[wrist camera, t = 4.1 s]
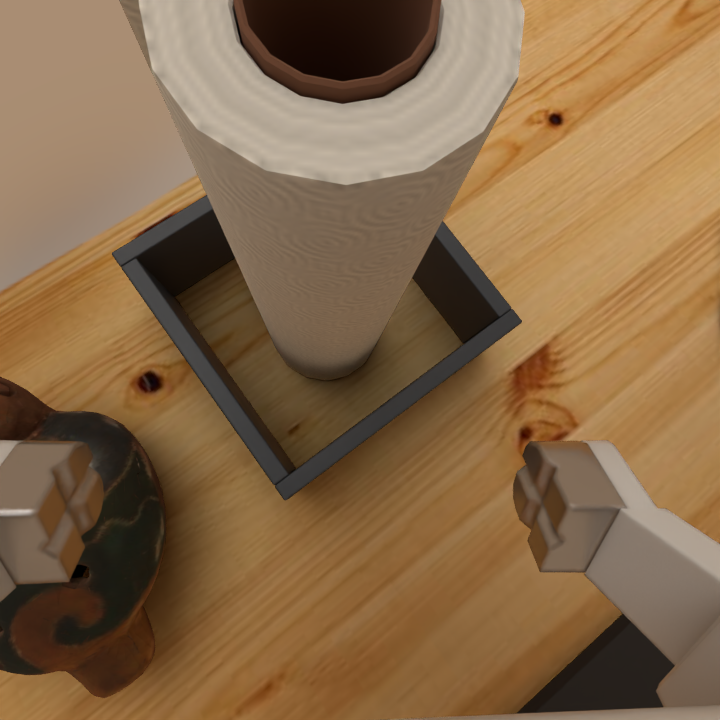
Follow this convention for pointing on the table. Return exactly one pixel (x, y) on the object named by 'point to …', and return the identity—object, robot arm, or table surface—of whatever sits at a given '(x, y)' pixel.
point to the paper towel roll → (330, 144)
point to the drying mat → (607, 675)
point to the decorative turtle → (89, 559)
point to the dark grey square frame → (158, 289)
